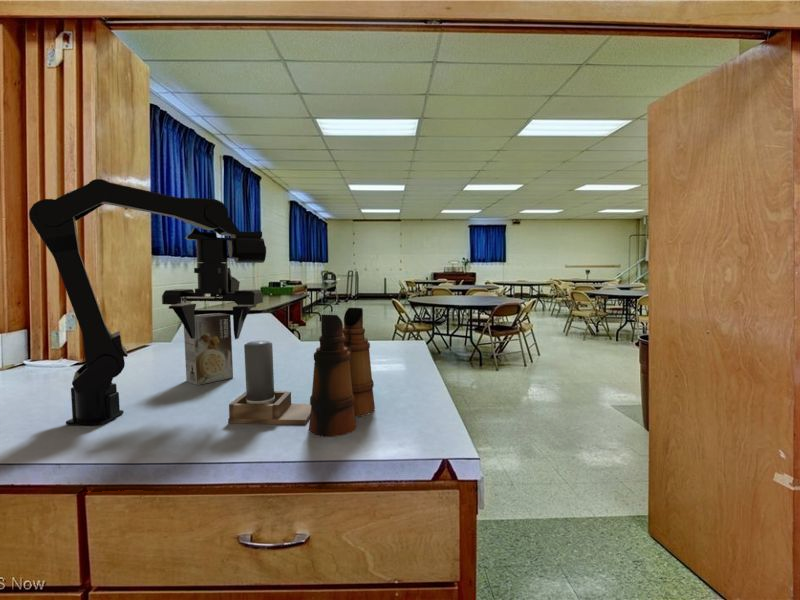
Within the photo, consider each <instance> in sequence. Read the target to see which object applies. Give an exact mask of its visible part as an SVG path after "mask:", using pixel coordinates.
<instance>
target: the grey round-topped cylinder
mask: <svg viewBox="0 0 800 600" xmlns="http://www.w3.org/2000/svg"><path fill="white" fill-rule="evenodd" d="M243 348H244V368H245V369H244V371H245V373H244V374H245V388H246V389H245V392H246V396H247V398H246V402H247V404H274V403H275V395H274V391H275V379H274V377H275V376H274V375H275V374H274V356H273V355H274V353H273V350H274V348H273V342H271V341H269V340H254V341H248V342H247V343H245V344H244V345H243Z"/></svg>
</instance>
